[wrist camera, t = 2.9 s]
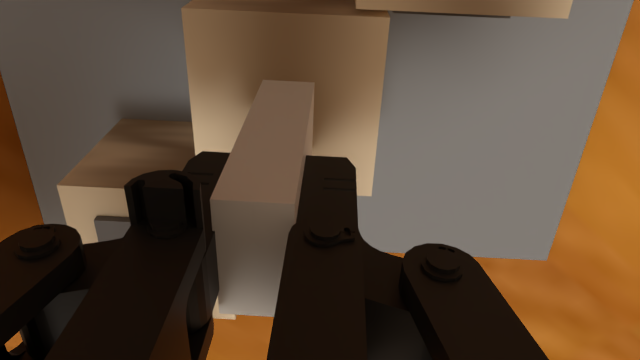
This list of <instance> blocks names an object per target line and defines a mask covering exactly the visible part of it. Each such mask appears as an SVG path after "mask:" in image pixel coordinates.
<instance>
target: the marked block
mask: <svg viewBox="0 0 640 360" xmlns="http://www.w3.org/2000/svg"><path fill="white" fill-rule="evenodd" d="M194 156H195V147H194V136H193V126H192V122H182V121H162V120H141V119H121V120H120V121H119V122H118V123H117V124H116V125H115V126H114V127H113V128H112V129H111V130H110V131H109V132H108V133H107V134H106V135H105V136H104V137H103V138H102V139H101V140H100V141H99V142H98V143H97V144H96V145H95V146H94V147H93V149H92V150H91V151H90V152H89V153H88V154H87V155H86V156H85V157H84V158H83V159H82V160H81V161H80V162H79V163H78V164H77V165H76V166H75V167H74V168H73V169H72V170H71V171H70V172H69V173H68V174H67V175H66V176H65V177H64V178H63V179H62V180H61V181H60V182H59V183H58V184H57V189H58V192H59V196H60V200H61V204H62V208H63V212H64V215H65V219H66V223H67V225H68V226H70V227H72V228H75V229H76V230H77V231H78V233H79V234H80V235H81V239H82V243H83V244H88V243H95V242H102V241H109V240H114V239H119V238H123V237H124V235H125V233H126V232H127V230H128V229H129V227H130V226H131V224H130V218H129V213H128V207H127V202H126V196H125V191H124V185H125V184H126V183H128V182H129V181H130V180H131V179H133V178H135V177H137V176H139V175H142V174H144V173H148V172H153V171H157V170H178V171H182V170H183V169H184V167H185V165H186V164H187V162H188V160H190V159H191V158H193V157H194ZM236 315H237V314H220V313H219V303H218V296H217V299H216V303H215V306H214V309H213V318H220V319H236Z"/></svg>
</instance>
